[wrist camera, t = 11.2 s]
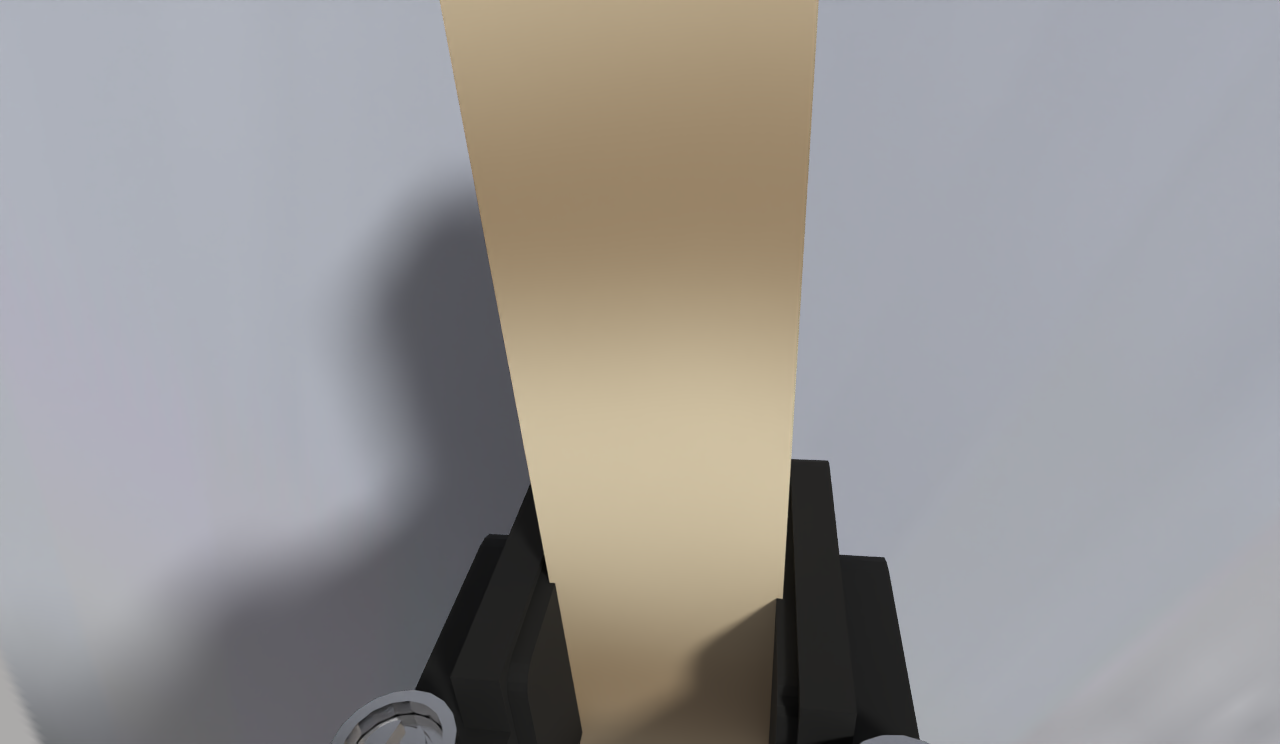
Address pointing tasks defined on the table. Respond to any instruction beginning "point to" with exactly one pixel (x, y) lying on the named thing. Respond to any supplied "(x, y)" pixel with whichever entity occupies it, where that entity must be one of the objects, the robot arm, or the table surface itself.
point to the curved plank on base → (650, 329)
